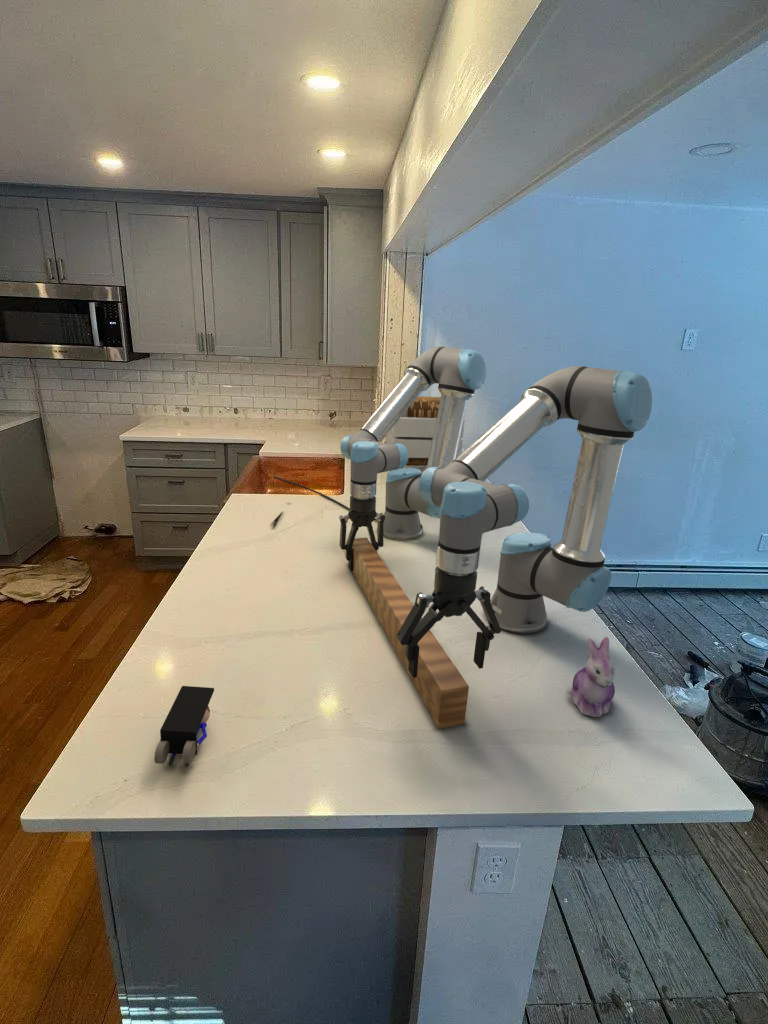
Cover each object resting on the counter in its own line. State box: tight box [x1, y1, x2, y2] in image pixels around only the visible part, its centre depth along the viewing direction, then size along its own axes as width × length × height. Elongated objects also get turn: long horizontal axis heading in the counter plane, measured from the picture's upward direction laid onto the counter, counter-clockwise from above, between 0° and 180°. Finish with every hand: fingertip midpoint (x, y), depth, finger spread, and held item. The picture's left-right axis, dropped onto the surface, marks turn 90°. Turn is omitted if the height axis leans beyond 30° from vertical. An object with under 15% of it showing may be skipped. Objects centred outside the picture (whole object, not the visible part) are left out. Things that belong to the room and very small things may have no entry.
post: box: [351, 537, 470, 729], centre depth 140 cm, size 74×6×9 cm, turn 17°
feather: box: [270, 512, 283, 529], centre depth 212 cm, size 2×28×2 cm
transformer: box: [383, 396, 465, 468], centre depth 268 cm, size 34×33×41 cm
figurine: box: [570, 636, 616, 718], centre depth 114 cm, size 9×10×15 cm
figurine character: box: [153, 685, 215, 768], centre depth 100 cm, size 7×8×15 cm
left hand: (360, 568), depth 171 cm, fingers closed on post, 6 cm apart
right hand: (445, 669), depth 109 cm, fingers open, 13 cm apart
